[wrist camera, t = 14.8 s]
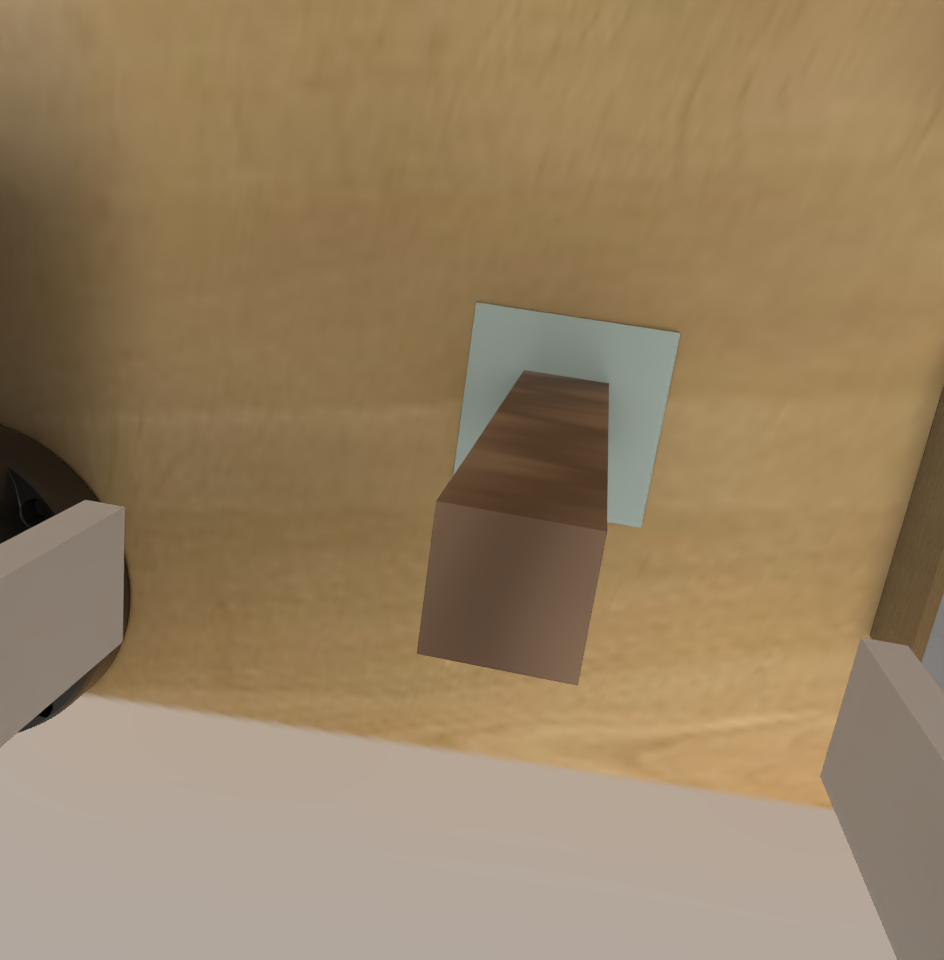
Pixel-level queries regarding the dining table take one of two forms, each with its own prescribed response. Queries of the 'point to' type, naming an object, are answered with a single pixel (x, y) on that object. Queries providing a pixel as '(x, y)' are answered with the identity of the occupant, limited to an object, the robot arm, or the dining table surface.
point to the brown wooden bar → (523, 534)
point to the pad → (584, 355)
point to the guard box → (919, 566)
